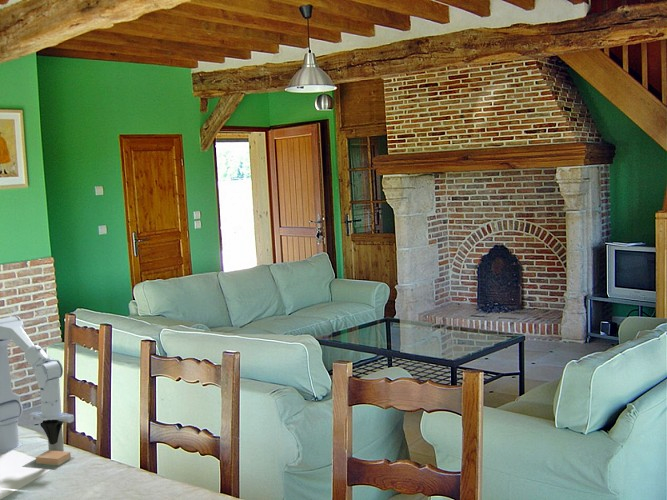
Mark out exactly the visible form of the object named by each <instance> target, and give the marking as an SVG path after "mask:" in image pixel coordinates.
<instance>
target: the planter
mask: <svg viewBox="0 0 667 500" xmlns="http://www.w3.org/2000/svg"><path fill="white" fill-rule="evenodd" d="M47 443H48V450H53V451H64V452H65V446H64V431H63V426H62V427H61V429H60V432H59V436H58V442H57V443H55V444H50V443H49V440H48V439H47Z"/></svg>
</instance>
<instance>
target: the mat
mask: <svg viewBox="0 0 667 500" xmlns="http://www.w3.org/2000/svg"><path fill="white" fill-rule="evenodd" d="M74 459H76V457H74V456H71V458H70V460H68V461H67V462H65V463H63V464H61V465H60V466H51V465H40V464H37V463H36V458H35V459H32V460H31V461H29V462H26V464H24V465H22V466H21V467H23V468H31V469H33V468H34V469H43V470H53V471H56V470H58V469H59V468H61V467H63V466H64V465H66V464H68V463H70V462H71V461H73V460H74Z"/></svg>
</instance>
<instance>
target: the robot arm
mask: <svg viewBox="0 0 667 500" xmlns="http://www.w3.org/2000/svg"><path fill="white" fill-rule="evenodd" d="M11 341H12V342H13V343H14V344H15V345H16V346H17V347H19V349H20V350H22V351H23V353H24V355H23V357H24V360H25V361H26V362H27V363H28V365H30V366H31V368H32V369H33V370H34V377H35V379H36V382H37V386H38V388H39V392H40V393H39V395H40V410H41V411H34V412H31V413H30V414H29V416H30V417H29V419H30V421H31V420H32V421H34V420H36V421H37V420H40V421H42V422H40V428H42V430H43V431H44V433H45V435H46V437H47V441H48V440H49V443H50V444H55V443H57V442H58V436H59V432H60V429H61V427H62V428H63V425H64V423H65V422H66V423H69V424H70V423H73V422H75V416H74V414H71V413H66V412H63V411H62V401H61V400H62V399H61V397H62V396H61V385H60V378H62V377H63V372H64V369H63V366H62V363H61V362H60V361H59V360H58V359H55V358H51V357H50V356H49V355H48V353H47V352H46V351H45V350H44V349H43V348H42V347H41V346H40V345H36V344H34V343H33V341H32V340H31V338H30V337H29V336H28V334H27V333H26V331H25V324H24V321H23V320H22V319H21V318H20V316H19V315H12V316H8V317H3V318H0V453H1V452H3V453H10V452H12V451H14V450H16V449H18V448H20V447H22V446H24V445H25V444H26V443H25V442H20V438H19V437H20V436H19V427H18V425H19V424H18V423H19V422H18V421H19V420H20V417H22V414H23V412H24V411H23V410H24V408H23V404H22V402H21V398H20V395H19V394H18V393H16V392H13V388H12V379H11V367H10V360H9V349H8V344H9V343H11Z"/></svg>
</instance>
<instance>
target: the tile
mask: <svg viewBox="0 0 667 500" xmlns="http://www.w3.org/2000/svg"><path fill="white" fill-rule="evenodd" d="M71 454H72V453H71V451H65V450H64V451H53V450H49V449H48V450H46V451H44V452H43V453H41V454H39V455H37V456H35V459H36V463H37V464H40V465H51V466H60V465H61V464H63V463H65V462H67V461H68V460H70V458H71V457H72V455H71Z"/></svg>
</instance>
